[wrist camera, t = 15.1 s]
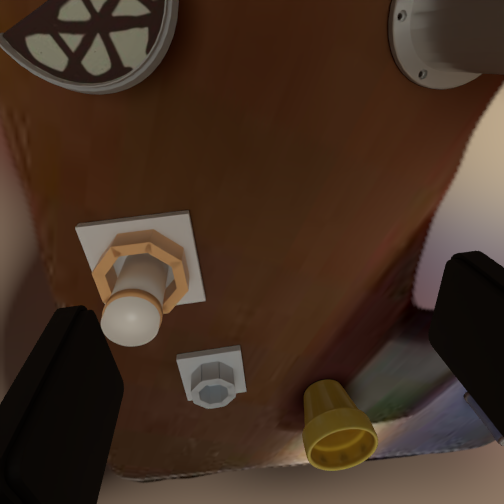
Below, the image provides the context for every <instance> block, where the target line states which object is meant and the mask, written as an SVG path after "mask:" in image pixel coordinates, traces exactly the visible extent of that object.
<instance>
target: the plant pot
mask: <svg viewBox="0 0 504 504" xmlns="http://www.w3.org/2000/svg"><path fill="white" fill-rule="evenodd" d="M304 416H305V428H304V430H303V434H302V437H303V443H304V447H305V451H306V455H307V459H308V461H309V462H310V464H311V465H313V466H314V467H316V468H318V469H322V470H328V471H336V470H342V469H347V468H350V467H353V466H356V465H357V464H360V463H362V462H363V461H365V460H366V459H368V458H369V457H370V456H371V455H372V454H373V453H374V452H375V450H376V448H377V446H378V437H377V434H376V432H375V430H374V428H373V426H372V424H371V422H370V420H369V418H368V417H367V415H366V414H365V413H364V412H362V411H361V410H359V409H358V408H357V407H356V405H355V404H354V402H353V401H352V400H351V398H350V397H349V396H348V394H347V393H346V391H345V390H344V389H343V387H342V386H341V384H340V383H338V382H337V381H334V380H329V379H326V380H320V381H317V382H315V383H313V384H312V385H310V386H309V387H308V388H307V389H306V391H305V393H304Z"/></svg>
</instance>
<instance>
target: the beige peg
mask: <svg viewBox="0 0 504 504" xmlns="http://www.w3.org/2000/svg"><path fill="white" fill-rule="evenodd" d="M168 269H169V268H168V264H166V263H164V262H162V261H161V260H159V259H157V258H155V257H154V256H152V255H150V254H149V253H143V254H135V255H128V256H127V257H126V259H125V261H124V264H123V266H122V269H121V271H120V274H119V276H118V279H117V281H116V284H115V286H114V289H113V291H112V294H111V296H110V298H109V299H108V300H107V302H106V304H105V307H104V309H103V312H102V319H101V328H102V331H103V333H104V334H105V335H106V337H107V338H109V339H110V340H111V341H113V342H115V343H117V344H120V345H123V346H139V345H143V344H146V343H148V342H149V341H151V340H152V339H153V338H154V337H155V336H156V335H157V333H158V330H159V327H160V325H161V322H162V316H163V309H162V306H163V300H164V294H165V288H166V282H167V276H168Z"/></svg>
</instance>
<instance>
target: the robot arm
mask: <svg viewBox="0 0 504 504" xmlns="http://www.w3.org/2000/svg"><path fill="white" fill-rule="evenodd" d="M398 14H399V15H400V18H399V20H398V18H397V16H398ZM388 34H389V43H390V48H391V52H392V55H393V57H394V60H395V63H396V64H397V66H398V67H399V69H400V70H401V72H402V73H403V74H404V75H405V76H406V77H407V78H408V79H409V80H410V81H412V82H414V83H415V84H417V85H419V86H422V87H426V88H430V89H450V88H455V87H458V86H461V85H464V84H466V83H468V82H470V81H472V80H474V79H476V78H477V77H479V76H480V75H481V74H483V73H484V74H501V75H504V0H392V3H391V7H390V14H389V21H388ZM419 72H420V75H419ZM418 75H419V76H418ZM428 335H429V341H430V343H431V345H432V347H433V348H434V349H435V351H436V352H437V353H438V354H439V356H440V357H441V358H442V360H443V361H444V362H445V363H446V365H447V366H448V367H449V368H450V370H451V371H452V372H453V374H454V375H455V376H456V377H457V379H458V380H459V381H460V382H461V384H462V385H463V386H464V388H465V389H466V390H467V391H468V393H469V394H470V395H471V396H472V398H473V399H474V400H475V402H476V403H477V404H478V405H479V407H480V408H481V409H482V410H483V412H484V413H485V414H486V416H487V417H488V418H489V419H490V421H491V422H492V423H493V424H494V426H495V427H496V428H497V430H498V431H499V432H500V433H501V435H502V436H503V437H504V268H503V267H502V266H501V265H499V264H498V263H496V262H495V261H494V260H492V259H490V258H489V257H488V256H487V255H485V254H484V253H482V252H480V251H471V252H464V253H457V254H454V255H453V256H452V257H451V260H449V261H447V263H446V265H445V269H444V273H443V277H442V281H441V285H440V290H439V293H438V297H437V301H436V305H435V309H434V313H433V317H432V321H431V325H430V329H429V334H428ZM123 392H124V384H123V380H122V377H121V375H120V372H119V370H118V368H117V365H116V363H115V360H114V358H113V356H112V353H111V351H110V348H109V346H108V343H107V341H106V339H105V336H104V334H103V331H102V329H101V327H100V324H99V322H98V319H97V317H96V315H95V313H94V311H93V310H87V308H86V307H85V306H82V305H80V306H73V307H66V308H59V309H57V310H56V311H55V313H54V314H53V316H52V318H51V320H50V321H49V323H48V324H47V326H46V328H45V330H44V331H43V333H42V335H41V336H40V338H39V340H38V341H37V343H36V345H35V347H34V348H33V350H32V352H31V353H30V355H29V357H28V358H27V360H26V362H25V363H24V365H23V367H22V368H21V370H20V372H19V373H18V375H17V377H16V379H15V380H14V382H13V384H12V385H11V387H10V389H9V391H8V392H7V394H6V395H5V397H4V399H3V401H2V402H1V404H0V504H97V499H98V495H99V491H100V487H101V483H102V479H103V475H104V471H105V467H106V463H107V459H108V454H109V450H110V446H111V442H112V438H113V434H114V430H115V426H116V422H117V418H118V414H119V409H120V405H121V401H122V397H123Z"/></svg>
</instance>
